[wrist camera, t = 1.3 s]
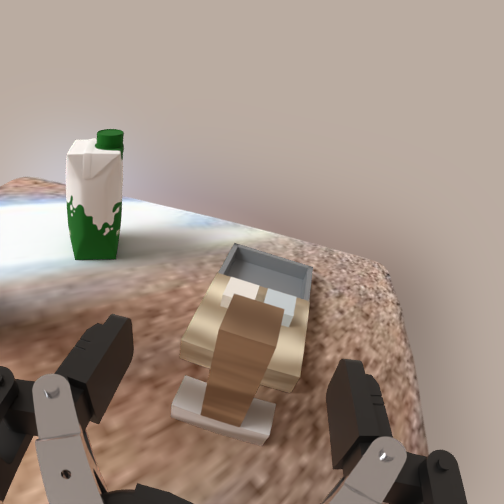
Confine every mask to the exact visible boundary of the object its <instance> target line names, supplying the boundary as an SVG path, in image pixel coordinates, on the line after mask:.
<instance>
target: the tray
mask: <svg viewBox="0 0 504 504" xmlns="http://www.w3.org/2000/svg"><path fill="white" fill-rule="evenodd" d="M312 270H313V267H311V266H308V265H304V264H301V263H298V262H295V261H291V260H288V259H285V258H282V257H278V256H275V255H272V254H269V253H266V252H262V251H259V250H256V249H253V248H249V247H246V246H243V245H240V244H236V243H234V245H233V247H232V249H231V250H230V252H229V254H228V256H227V258H226V260H225V261H224V263H223V265H222V267H221V269H220V271H219V272H218V273H220V274H223V275H226V276H229V277H234V278H237V279H240V280H243V281H246V282H250V283H253V284H256V285H259V286H261V287H264V288H269V289H272V290H275V291H279V292H282V293H285V294H288V295H292V296H295V297H297V298H300V299H304V300H307V301H309V298H310V289H311V280H312Z"/></svg>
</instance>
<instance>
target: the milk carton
mask: <svg viewBox="0 0 504 504" xmlns="http://www.w3.org/2000/svg"><path fill="white" fill-rule="evenodd" d="M123 134H124V133H123V131H121V130H116V129H106V130H101V131H98V132H97V139H90V140H75V142H74V143H73V145H72V146H71V148H70V150H69V152H68V153H67V161H66V198H67V214H68V226H69V233H70V238H71V243H72V247H73V252H74V257H75V260H93V259H116V255H117V248H118V241H119V234H120V226H121V212H122V182H123V173H122V171H123V170H122V169H123V166H122V159H123V150H124V146H123Z"/></svg>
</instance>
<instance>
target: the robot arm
mask: <svg viewBox="0 0 504 504" xmlns="http://www.w3.org/2000/svg"><path fill="white" fill-rule="evenodd" d="M133 351H134V346H133V334H132V322H131V319H130V318H126V317H122V316H118V315H115V314H111V315H110V316H109V318H108V319H107V320H106V322H105V323H104V324H103V325H102V324H99V323H97V324H95V325H94V326H92V327H91V328H89V329H87V330H86V332H85V333H84V334H83V336H82V337H81V338H80V340H79V341H78V342H77V344H76V345H75V347H74V348H73V349H72V350H71V352H70V353H69V354H68V356H67V357H66V358H65V360H64V361H63V363H62V364H61V365H60V367H59V368H58V370H57V371H56V372H55V373H54V374H46V375H43V376H41V377H40V378H38V379H37V380H36V381H35V382H34V381H26V380H19V379H15V378H14V376H13V373H12V372H11V371H10V370H9V369H8V368H6V367H3V366H0V504H3V501H4V499H5V496H6V494H7V492H8V489H9V487H10V485H11V482H12V480H13V478H14V476H15V473H16V471H17V469H18V467H19V465H20V463H21V460H22V458H23V456H24V454H25V452H26V450H27V448H28V446H29V444H30V442H31V440H32V438H33V436H38V437H39V439H37V440H36V441H35V445H36V451H37V456H38V461H39V466H40V471H41V475H42V479H43V483H44V487H45V491H46V494H47V498H48V501H49V504H193V503H191V502H189V501H187V500H184V499H182V498H180V497H178V496H176V495H174V494H172V493H170V492H166V491H162V490H159V489H155V488H152V487H148V486H145V485H141V484H138V483H137V485H136V488H135V490H115V491H111V492H109V491H108V489H107V486H106V484H105V482H104V479H103V477H102V475H101V473H100V470H99V467H98V465H97V462H96V459H95V456H94V453H93V450H92V447H91V443H90V440H89V437H88V434H87V430H86V427H87V425H88V423H89V421H91V422H94V423H97V424H99V423H100V421H101V419H102V417H103V415H104V413H105V411H106V409H107V407H108V405H109V403H110V401H111V399H112V398H113V396H114V394H115V392H116V390H117V388H118V386H119V384H120V382H121V380H122V378H123V376H124V374H125V372H126V371H127V369H128V367H129V365H130V363H131V360H132V357H133ZM381 396H382V394H381V391H380V387H379V384H378V383H377V382H376V380H375V379H374V378H373V376H372V375H368V374H365V371H364V367H363V364H362V362H361V361H359V360H350V359H341V360H340V362H339V364H338V366H337V368H336V371H335V373H334V375H333V377H332V379H331V381H330V383H329V385H328V389H327V394H326V403H327V412H328V422H329V431H330V442H331V453H332V465H333V469H343V477H342V478H341V479H340V480H339V482H338V483H337V484H336V485H335V487H334V488H333V489H332V490H331V491H330V493H329V494H328V495H327V496H326V497H325V499H324V500H323V501H322V502H321V503H320V504H382V502H386V503H389V504H467V500H466V496H465V491H464V487H463V483H462V479H461V475H460V471H459V467H458V463H457V461H456V459H455V457H454V456H453V455H452V454H450V453H449V452H447V451H445V450H436V451H433V452H432V453H431V454H430V455H429V456H428V457H425V456H421V455H416V454H412V453H409V452H406V450H405V447H404V446H403V445H402V443H401V442H399V441H398V440H396V439H394V438H393V436H392V432H391V428H390V424H389V420H388V417H387V413H386V409H385V406H384V402H383V398H382V397H381Z"/></svg>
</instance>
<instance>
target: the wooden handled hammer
mask: <svg viewBox="0 0 504 504" xmlns="http://www.w3.org/2000/svg"><path fill="white" fill-rule="evenodd" d="M284 310H285V309H283V308H279V307H276V306H273V305H269V304H266V303H263V302H260V301H257V300H253V299H250V298H247V297H244V296H241V295H238V294H234V295H233V297H232V300H231V302H230V304H229V307H228V309H227V311H226V314H225V316H224V318H223V321H222V323H221V325H220V328H219V331H218V335H217V340H216V344H215V349H214V353H213V358H212V363H211V367H210V372H209V377H208V381H207V383H206V382H203V381H200V380H197V379H194V378H192V377H189V376H186V375H185V376H184V379H183V381H182V383H181V385H180V387H179V389H178V391H177V394H176V396H175V398H174V400H173V402H172V404H171V417H172V418H175V419H177V420H180V421H183V422H185V423H188V424H191V425H194V426H197V427H199V428H202V429H205V430H208V431H211V432H215V433H218V434H221V435H224V436H227V437H231V438H234V439H237V440H241V441H244V442H248V443H252V444H256V445H259V446H262V445H263V444H264V442H265V441H266V440H267V438H268V437H269V435H270V430H271V426H272V421H273V417H274V412H275V407H276V404H274V403H271V402H267V401H263V400H260V399H256V398H254V396H255V394H256V392H257V390H258V387H259V385H260V383H261V381H262V379H263V376H264V374H265V372H266V370H267V367H268V365H269V363H270V361H271V358H272V356H273V354H274V351H275V349H276V347H277V342H278V338H279V333H280V328H281V324H282V319H283V314H284Z"/></svg>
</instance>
